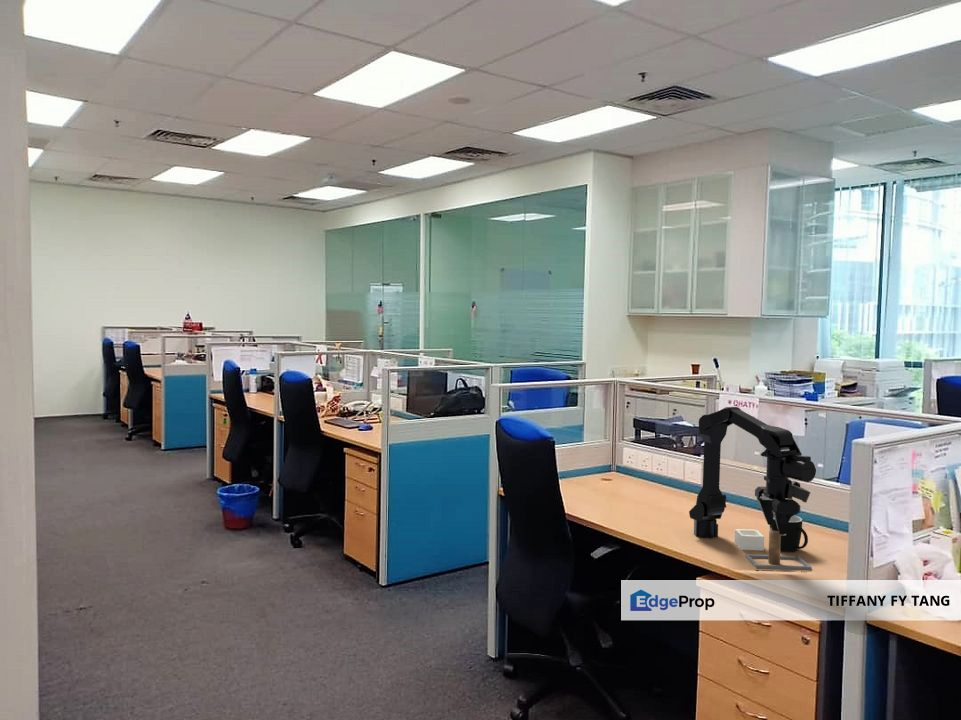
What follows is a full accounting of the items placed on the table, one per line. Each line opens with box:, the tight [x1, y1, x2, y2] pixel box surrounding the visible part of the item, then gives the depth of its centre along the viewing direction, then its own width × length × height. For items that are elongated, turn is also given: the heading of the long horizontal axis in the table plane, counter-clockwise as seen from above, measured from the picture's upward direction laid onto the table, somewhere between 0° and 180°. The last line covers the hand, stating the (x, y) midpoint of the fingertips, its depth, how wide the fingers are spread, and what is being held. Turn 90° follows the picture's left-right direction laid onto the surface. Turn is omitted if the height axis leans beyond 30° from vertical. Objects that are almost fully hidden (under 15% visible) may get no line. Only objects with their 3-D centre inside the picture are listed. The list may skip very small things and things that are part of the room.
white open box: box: [733, 528, 765, 551], centre depth 209 cm, size 7×7×5 cm
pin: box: [767, 530, 781, 565], centre depth 195 cm, size 3×3×9 cm
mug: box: [769, 515, 809, 553], centre depth 206 cm, size 12×9×10 cm
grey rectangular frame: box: [745, 553, 813, 573], centre depth 195 cm, size 15×9×2 cm, turn 86°
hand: (775, 529), depth 194 cm, fingers open, 9 cm apart
